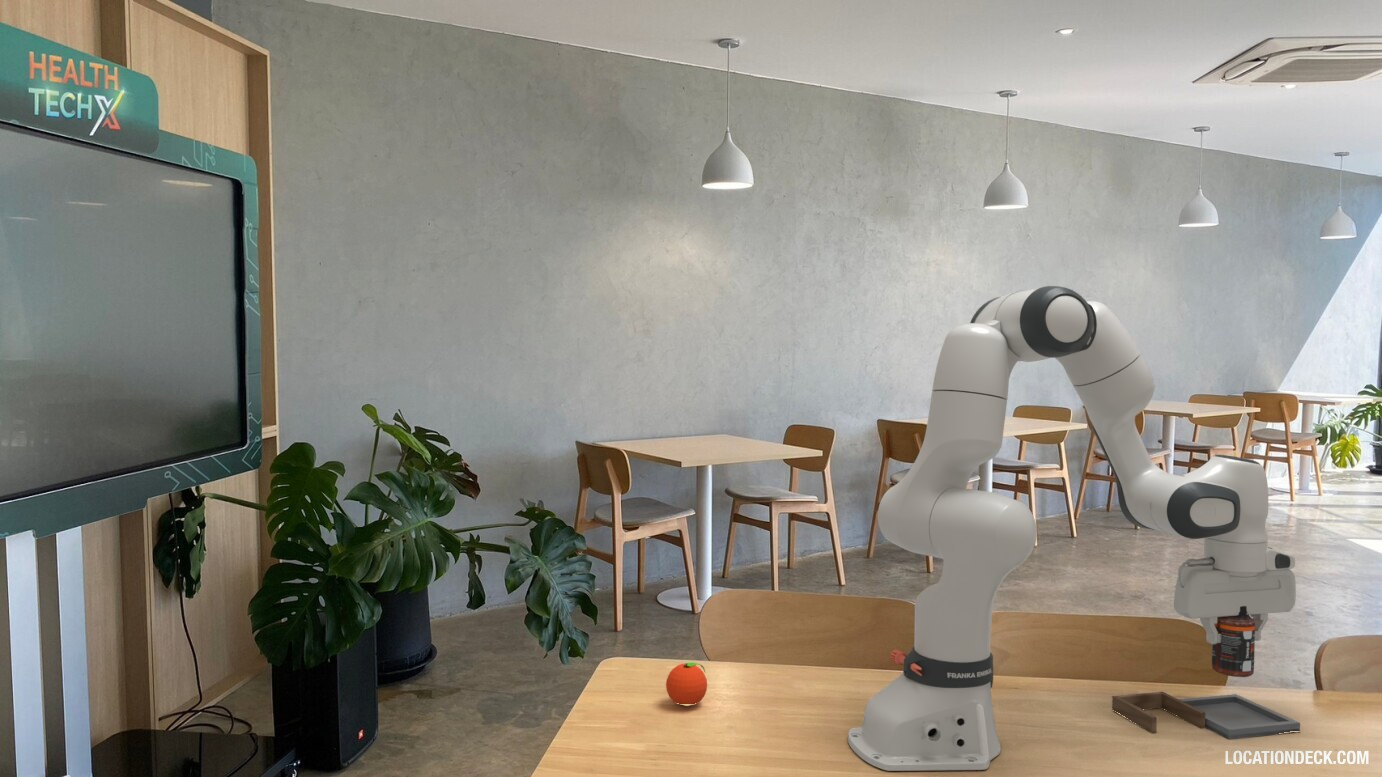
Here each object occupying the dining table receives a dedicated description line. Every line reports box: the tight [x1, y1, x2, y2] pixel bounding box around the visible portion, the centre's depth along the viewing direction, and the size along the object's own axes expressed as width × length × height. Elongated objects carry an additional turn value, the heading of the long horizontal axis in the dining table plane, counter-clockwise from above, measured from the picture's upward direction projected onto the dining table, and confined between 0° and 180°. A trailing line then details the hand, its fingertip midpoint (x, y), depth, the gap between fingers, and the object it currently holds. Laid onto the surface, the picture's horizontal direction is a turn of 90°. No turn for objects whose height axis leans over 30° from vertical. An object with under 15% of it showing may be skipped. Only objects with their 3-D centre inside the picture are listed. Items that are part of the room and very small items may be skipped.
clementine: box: [665, 662, 708, 705], centre depth 161 cm, size 8×7×7 cm
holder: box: [1111, 691, 1206, 734], centre depth 155 cm, size 10×10×2 cm
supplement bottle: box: [1211, 606, 1256, 678], centre depth 154 cm, size 6×6×11 cm
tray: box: [1178, 693, 1301, 740], centre depth 154 cm, size 13×13×2 cm
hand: (1233, 641), depth 154 cm, fingers closed on supplement bottle, 6 cm apart
